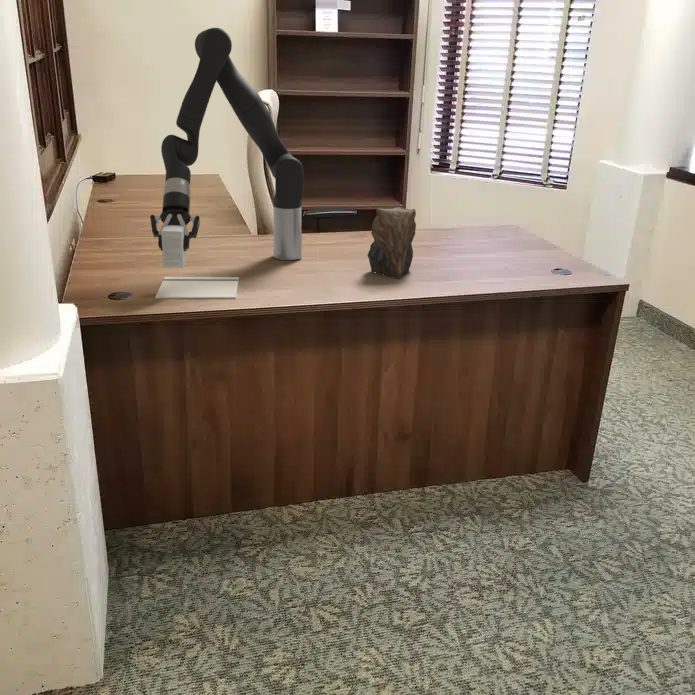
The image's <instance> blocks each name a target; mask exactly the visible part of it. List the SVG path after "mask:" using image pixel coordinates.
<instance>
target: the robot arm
mask: <svg viewBox="0 0 695 695" xmlns="http://www.w3.org/2000/svg"><path fill="white" fill-rule="evenodd" d="M232 48H233V44H232V40H231V37H230V35H229V34H228V32H227V31H226V30H225V29H222V28H220V27H210V28H207V29H204V30H203V31H200V32H199V33H198V34H197V35H196V37H195V40H194V49H195V52H196V55H197V57H198V58H199V61H198V66H197V69H196V72H195V74H194V77H193V79H192V80H191V83H190V85H189V87H188V89H187V91H186V92H185V95H184V97H183V100H182V102H181V105H180V108H179V112H178V114H177V117H176V121H175V122H176V127H177V128H179V129H180V130H182V131H183V132H184V133H185V134H186V137H187V139H185V138H182V137H180V136H178V135H175V134H169V135H167V136H165V137H164V138H163V140H162V143H161V147H160V148H161V156H162V160H163V164H164V169H165V181H164V187H163V196H162V197H163V198H162V210H161V211H162V212H161V213H160V215H154V214H151V215H150V216H149V217H150V223H151V224H150V225H151V226H150V227H151V231H152V236H153V237H154V238H158V243H157V245H158V248H159V250H160V251H161V252H163V250H162V236H161V231H162V229H163V228H164V226H168V225H178V226H181V227H184V234H185V236H184V242H183V249H184V251H186V252H187V251H188V250H189V248H190V240H191V239H196V238H197V236H198V232H199V228H200V224H201V219H200V216H199V215H196V216H192V215H190V210H191V209H190V208H191V198H192V196H191V176H192V174H191V169H190V166H192V165H194V164H195V163H196V161H197V159H198V157H199V147H200V146H199V141H200V131H201V127H202V123H203V121H204V119H205V114H206V111H207V110H208V109H207V108H208V105H209V102H210V99H211V97H212V94H213V90H214V87H215V85H216V83H217V84H218V86H219V87H220V89H221V91H222V93H223V95H224V97H225V98H226V100H227V101H228V103H229V105H230V106H231V108H232V110H233V112H234V114H235V115H236V117H237V119H238V121H239V122H240V123H241V125H242V127H243V128H244V129H245V132H247V134H248V136H249V137H250V139H252V141H253V143H255V145H256V146H257V147H258V149H259V150H260V152H261V154H262V156H263V158H264V160H265V161H266V164H267V166H268V168H269V170H270V173H271V175H272V177H273V178H274V180H275V182H274V183H275V190H274V191H275V192H274V193H275V194H274V195H273V196H274V197H273V199H272V200H273V201H272V202H273V204H272V206H273V207H272V208H273V209H272V210H273V211H272V213H273V215H272V216H273V257H274V259H276V260H281V261H296V260H302V237H303V236H302V201H303V198H304V186H305V184H304V183H305V172H304V167H303V164H302V162H301V161H300V160H299V159H298V158H295V157H294V156H293V155H292V154H291V153H290V151H289V150H288V149H287V147H286V146H285V144H284V143H283V142H282V139H281V138H280V136H279V135H278V132H277V129H276V126H275V123H274V121H273V118H272V115H271V114H270V111H269V109H268V107H267V106H266V104H265V102H264V100H263V99H262V97H261V96H260V94H259V93H258V91H257V90H256V89H255V88H254V87H253V86H252V85H251V84H250V82H249V81H248V80H246V78H245V77H244V76H243V75H242V74H241V73H240V72H239V71H238V69H237V68H236V65H235V63H234V62H233V61H232V58H231V57H230V54H231V52H232ZM160 221H161V222H162V225H161V228H160V229H159V230H158V226H157V225H158V224H159V223H160ZM190 222H191V224H192V227H191V231H189V230H188V228H187V226H188V225H189V223H190Z"/></svg>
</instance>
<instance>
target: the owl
mask: <svg viewBox="0 0 695 695" xmlns="http://www.w3.org/2000/svg"><path fill="white" fill-rule="evenodd" d="M375 212H376V216H375V218H374V220H373V221H372V226H371V236H372V237H373V242H372V243H371V244H370V245H369V247H370V248H369V250H368V253H367V258H368V262H369V266H370V272H371V271H372V272H371V273H373V272H376V273H375V274H377V273H380V274H384V275H383V276H385V275H387V276H386V277H389V276H390V277H389V278H393V277H394V279H398V280H401V279H402V278H403V277H404V276H405V275H406V274H407V271H408V272H409V271H410V268H411V266H412V262H413V257H414V252H413V251H414V250H413V245H412V243H413V240H414V238H415V236H416V228H417V223H416V221H415V217H416V214H417V212H416V209H415V208H413V209H409V208H405V207H400V206H398V207H394V208H381V207H380V208H376V209H375ZM405 273H406V274H405ZM380 274H379V275H380ZM403 275H404V276H403ZM401 277H402V278H401ZM400 278H401V279H400Z"/></svg>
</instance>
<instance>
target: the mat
mask: <svg viewBox="0 0 695 695" xmlns="http://www.w3.org/2000/svg"><path fill="white" fill-rule="evenodd" d="M239 281H240V277H239V276H164V278H163V280H162V282H161V283H160V286H159V287H158V290H157V293H156V294H155V296H154V298H155V299H156V300H157V299H159V300H160V299H162V300H163V299H172V300H173V299H174V300H175V299H176V300H177V299H178V300H179V299H182V300H183V299H190V300H192V299H193V300H194V299H197V300H198V299H208V300H209V299H214V300H215V299H218V300H219V299H225V300H226V299H228V300H229V299H233V300H234V299H237V293H238V286H239Z"/></svg>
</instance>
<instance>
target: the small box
mask: <svg viewBox="0 0 695 695" xmlns="http://www.w3.org/2000/svg"><path fill="white" fill-rule="evenodd" d="M161 236H162V250H163V251H162V262H163V264H162V265H163V268H164V269H167V268H168V269H169V268H170V269H174V268H175V269H176V268H177V269H183V268H184V267H185V264H186V263H187V256H188V255H187V251H184V249H183V242H184V236H185V234H184V227H181V226H178V225H168V226H164V228H163V229H162V231H161Z"/></svg>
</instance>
